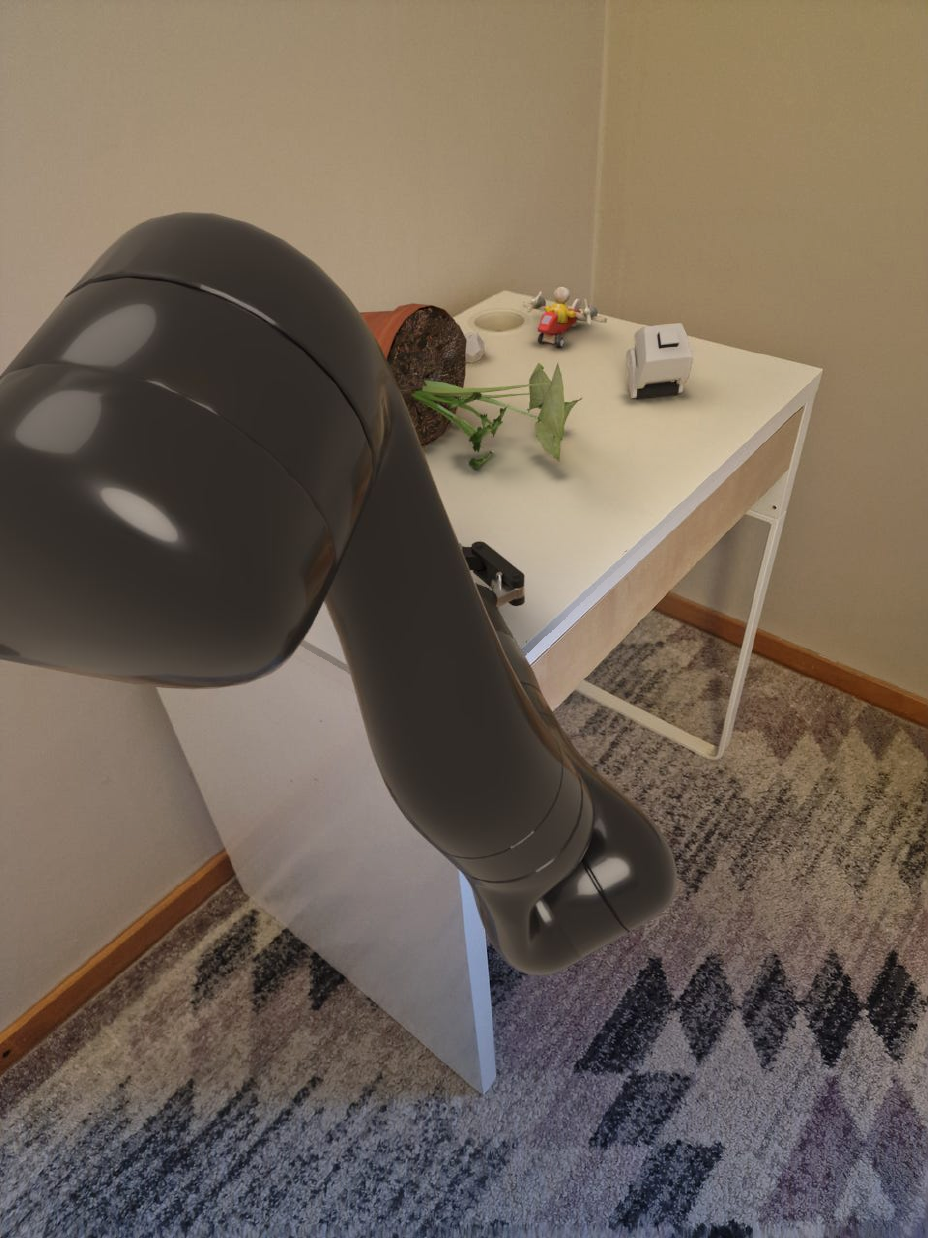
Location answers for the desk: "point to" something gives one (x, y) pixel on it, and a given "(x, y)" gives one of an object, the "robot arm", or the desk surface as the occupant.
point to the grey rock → (474, 347)
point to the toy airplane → (560, 315)
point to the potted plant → (455, 378)
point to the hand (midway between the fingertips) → (403, 538)
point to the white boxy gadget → (659, 361)
